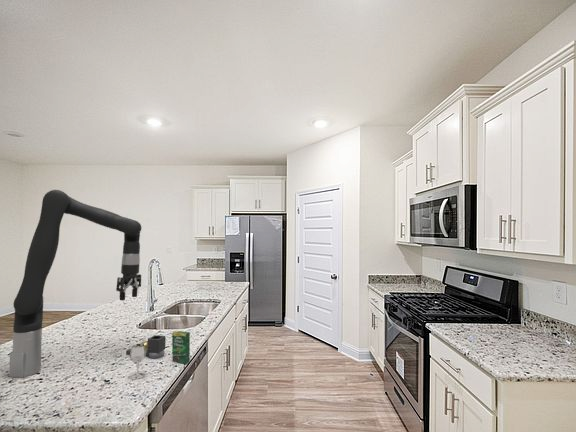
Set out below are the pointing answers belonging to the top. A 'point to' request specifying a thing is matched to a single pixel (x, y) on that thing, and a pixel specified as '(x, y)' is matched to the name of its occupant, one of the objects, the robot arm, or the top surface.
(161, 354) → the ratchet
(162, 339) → the socket
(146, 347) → the socket
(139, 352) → the wineglass
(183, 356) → the coffee box
